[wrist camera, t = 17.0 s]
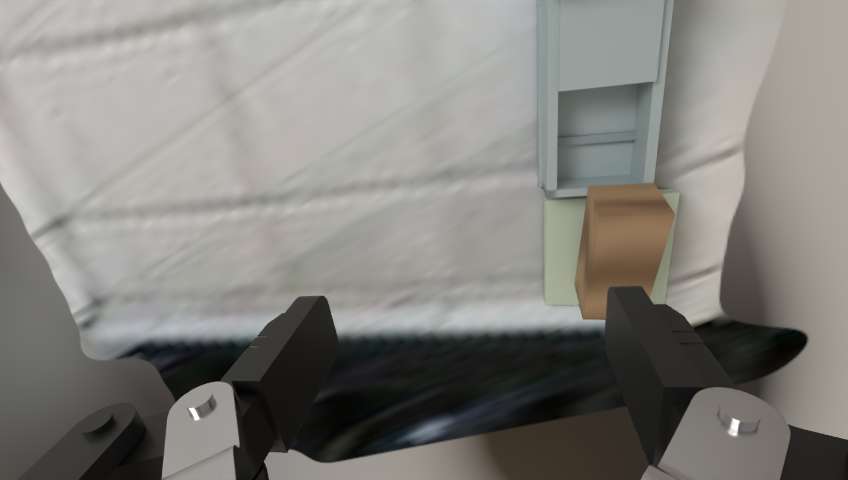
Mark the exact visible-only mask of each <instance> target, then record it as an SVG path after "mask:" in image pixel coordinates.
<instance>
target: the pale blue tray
mask: <svg viewBox="0 0 848 480" xmlns="http://www.w3.org/2000/svg"><path fill="white" fill-rule="evenodd" d="M673 4H674V0H537V32H538V187H539V188H540V187H543V190H544V192H545V195H546V197H547V198H558V197H574V196H587V191H588V186H600V185H623V184H645V183H654V177H655V168H656V159H657V150H658V141H659V132H660V122H661V113H662V104H663V95H664V86H665V77H666V68H667V59H668V49H669V40H670V31H671V22H672V13H673Z"/></svg>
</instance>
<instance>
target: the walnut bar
mask: <svg viewBox="0 0 848 480" xmlns="http://www.w3.org/2000/svg"><path fill="white" fill-rule="evenodd" d="M674 217H675V213H674V211H673V210H672V208H671V207H670V205H669V204H668V202H667V201H666V199H665V198H664V196H663V195H662V193H661V192H660V190H659V189H658V187H657V186H656V184H655V183H645V184H623V185H600V186H588V191H587V198H586V206H585V213H584V220H583V227H582V234H581V241H580V248H579V255H578V262H577V269H576V276H575V283H574V285H575V290H576V294H577V298H578V302H579V306H580V310H581V314H582V318H583V319H599V320H606V307H607V293H608V289H609V287H615V286H642V287H643V289H644V290H645V292H646V293H647V295H648V296H649V298H650V296H651V293H652V289H653V286H654V283H655V280H656V276H657V273H658V270H659V267H660V263H661V260H662V257H663V253H664V250H665V247H666V244H667V240H668V237H669V234H670V231H671V227H672V224H673V221H674Z"/></svg>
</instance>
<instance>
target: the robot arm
mask: <svg viewBox="0 0 848 480" xmlns="http://www.w3.org/2000/svg"><path fill="white" fill-rule="evenodd" d="M605 345H606V352H607V356H608V359H609V362H610V364H611V367H612V369H613V372H614V375H615V377H616V380H617V382H618V385H619V388H620V390H621V393H622V395H623V398H624V401H625V403H626V406H627V408H628V411H629V414H630V416H631V419H632V421H633V424H634V426H635V429H636V431H637V434H638V437H639V439H640V442H641V445H642V447H643V450H644V452H645V455H646V457H647V460H648V463H649V465H650V466H649V467H648V468H647V470H646V472H645V473H644V475H643V477H642V479H641V480H848V440H846V439H842V438H837V437H833V436H829V435H825V434H821V433H817V432H813V431H808V430H804V429H801V428H797V427H794V426H791V425H788V424H787V422H786V421H785V419H784V418H783V417H782V416H781V414H780V413H778V411H777V410H775V409H774V408H773V407H772V406H770V405H769V404H767V403H766V402H764V401H763V400H761V399H759V398H757V397H755V396H753V395H750V394H748V393H745V392H742V391H739V390H738V389H737V387H736V386H735V385H734V383H733V382H732V381H731V379H730V378H729V377H728V375H727V374H726V372H725V371H724V370H723V368H722V367H721V366H720V364H719V363H718V362H717V360H716V359H715V358H714V356H713V355H712V353H711V352H710V351H709V349H708V348H707V347H706V346H704V344H703V341H702V340H701V339H700V337H699V336H698V335H697V333H695V330H694V329H693V328H692V326H691V325H690V324H689V322H688V321H687V320H686V318H685V317H684V316H683V315H681V314H680V313H678V312H677V311H675V310H674V309H672V308H671V307H669V306H668V305H666V304H656V305H654V304H653V302H652V301H651V299H650V298H649V296H648V295H647V293H646V292H645V290H644V289H643V287H642V286H615V287H609V289H608V293H607V307H606V324H605ZM337 352H338V337H337V333H336V330H335V326H334V322H333V319H332V315H331V311H330V308H329V304H328V301H327V299H326V298H325V297H324V296H301V297H298V298H297V299H296V300H295V301H294V302H293V304H292V305H291V306H290V307H289V309H288V310H287V311H286V312H285V313H282V314H281V315H279V316H278V317H276V318H275V319H274V320H272V321H271V322H269V323H268V324H267V325H266V326H265V327H264V329H263V330H262V331H261V332H260V334H259V335H258V338H255V340H254V341H253V342H252V343H251V344H250V347H249V348H247V349H246V350H245V352H244V353H243V354H242V355H241V356H240V358H239V359H238V360H237V361H236V362H235V364H234V365H233V366H232V367H231V368H230V370H229V371H228V372H227V373H226V374H225V376H224V377H223V378H222V379H221V380H220V382H212V383H208V384H205V385H202V386H199V387H197V388H195V389H193V390H192V391H190V392H188V393H187V394H185V395H184V396H183V397H181V398H180V399H179V400H178V401H177V402H176V403H175V404H174V405H173V407H172V408H171V410H170V412H166V413H161V414H157V415H153V416H149V417H145V418H141V417H140V415H139V414H138V412H137V410H136V408H135V407H134V406H133V405H132V404H130V403H118V404H114V405H110V406H107V407H105V408H102V409H100V410H98V411H96V412H94V413H93V414H91V415H89V416H88V417H86V418H85V419H84V420H82V421H81V422H79V423H78V424H77V425H76V426H74V427H73V428H72V429H71V430H70V431H69V432H68V433H67V434H66V435H65V436H64V437H63V438H62V439H60V440H59V441H58V442H57V443H56V444H55V445H54V446H53V447H52V448H51V449H50V450H49V451H48V452H47V453H46V454H45V455H44V456H42V457H41V458H40V459H39V460H38V461H37V462H36V463H35V464H34V465H33V466H32V467H31V468H30V469H29V470H28V471H27V472H25V473H24V474H23V475H22V476H21V477H20V478H19V479H18V480H269V478H268V472H267V468H266V465H265V463H264V460H265V458H266V456H267V455H268V453H269V452H282V453H287V452H288V450H289V448H290V446H291V444H292V443H293V441H294V439H295V437H296V435H297V433H298V431H299V429H300V427H301V425H302V423H303V421H304V419H305V417H306V415H307V413H308V411H309V409H310V407H311V405H312V403H313V402H314V400H315V398H316V396H317V394H318V392H319V390H320V388H321V386H322V384H323V382H324V380H325V378H326V376H327V374H328V372H329V370H330V368H331V366H332V364H333V363H334V361H335V358H336V356H337Z"/></svg>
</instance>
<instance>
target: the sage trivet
mask: <svg viewBox="0 0 848 480" xmlns="http://www.w3.org/2000/svg"><path fill="white" fill-rule="evenodd" d="M659 190H660V192H661V193H662V195H663V196H664V198H665V199H666V201H667V202H668V204H669V205H670V207H671V208H672V210H673V211H674V213H675V217H674V221H673V224H672V227H671V231H670V234H669V237H668V240H667V244H666V247H665V250H664V253H663V257H662V260H661V263H660V267H659V270H658V273H657V276H656V280H655V283H654V286H653V289H652V293H651V296H650V299H651V301H652V302H653V304H665V298H666V290H667V283H668V276H669V268H670V261H671V254H672V246H673V239H674V232H675V224H676V217H677V210H678V202H679V195H680V193H679V192H678V191H676V190H675V189H659ZM586 198H587V196H574V197H558V198H547V197H546V196H544V301H545V305H579V302H578V298H577V294H576V290H575V285H574V283H575V276H576V269H577V262H578V255H579V248H580V241H581V234H582V227H583V220H584V213H585V206H586Z"/></svg>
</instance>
